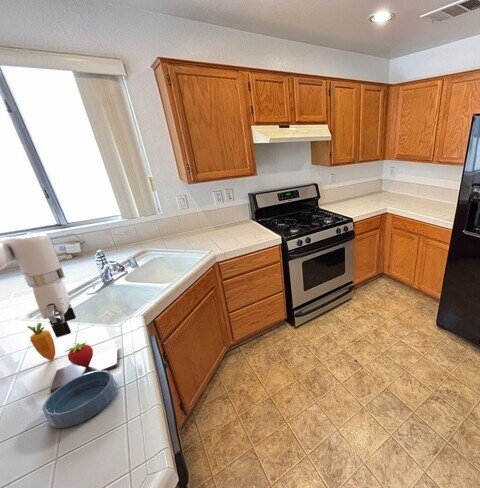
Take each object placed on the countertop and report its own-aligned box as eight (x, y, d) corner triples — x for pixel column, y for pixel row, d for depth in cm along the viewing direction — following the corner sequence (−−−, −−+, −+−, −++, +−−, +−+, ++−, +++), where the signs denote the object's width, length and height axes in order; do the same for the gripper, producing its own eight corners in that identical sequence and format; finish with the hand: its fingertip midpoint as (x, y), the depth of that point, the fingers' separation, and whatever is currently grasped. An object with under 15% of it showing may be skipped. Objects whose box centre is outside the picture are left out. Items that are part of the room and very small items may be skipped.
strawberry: (76, 378, 81) (64, 352, 78) (72, 367, 86) (60, 342, 83) (100, 366, 86) (89, 341, 82) (95, 356, 90) (85, 332, 87)
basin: (44, 441, 64) (36, 426, 63) (56, 400, 75) (49, 387, 74) (117, 407, 72) (111, 393, 70) (118, 375, 83) (113, 362, 82)
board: (51, 393, 78) (49, 390, 78) (58, 372, 86) (56, 370, 85) (117, 366, 87) (116, 363, 86) (118, 350, 94) (117, 347, 94)
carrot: (38, 363, 90) (19, 327, 86) (56, 353, 95) (39, 318, 90) (47, 366, 89) (28, 329, 84) (65, 356, 93) (48, 320, 88)
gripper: (35, 271, 80) (56, 319, 85) (16, 292, 66) (43, 347, 72) (68, 264, 84) (86, 310, 89) (57, 283, 71) (79, 336, 76)
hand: (66, 327), depth 81 cm, fingers open, 9 cm apart
